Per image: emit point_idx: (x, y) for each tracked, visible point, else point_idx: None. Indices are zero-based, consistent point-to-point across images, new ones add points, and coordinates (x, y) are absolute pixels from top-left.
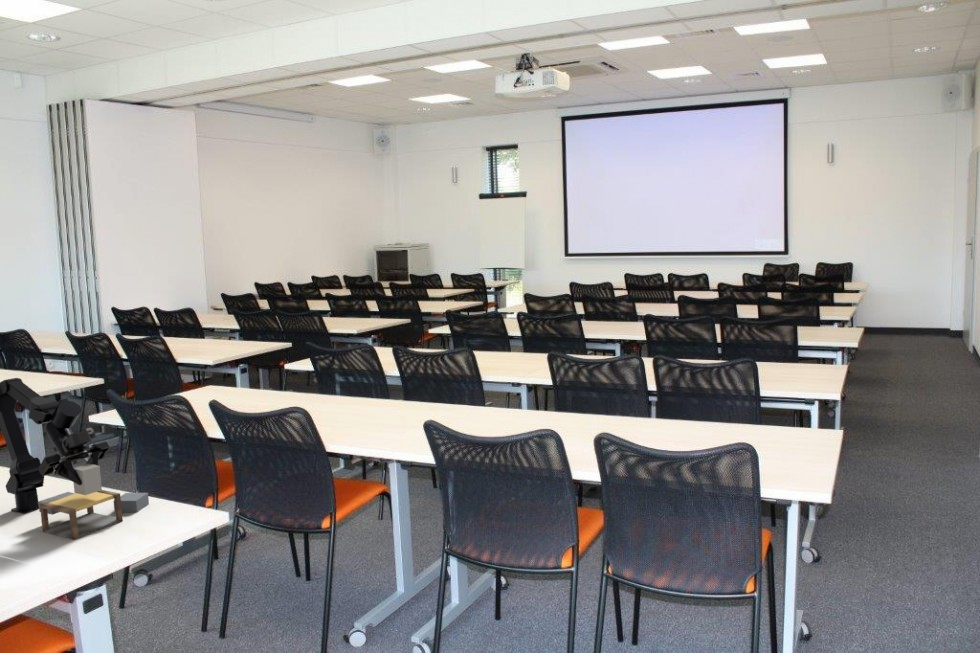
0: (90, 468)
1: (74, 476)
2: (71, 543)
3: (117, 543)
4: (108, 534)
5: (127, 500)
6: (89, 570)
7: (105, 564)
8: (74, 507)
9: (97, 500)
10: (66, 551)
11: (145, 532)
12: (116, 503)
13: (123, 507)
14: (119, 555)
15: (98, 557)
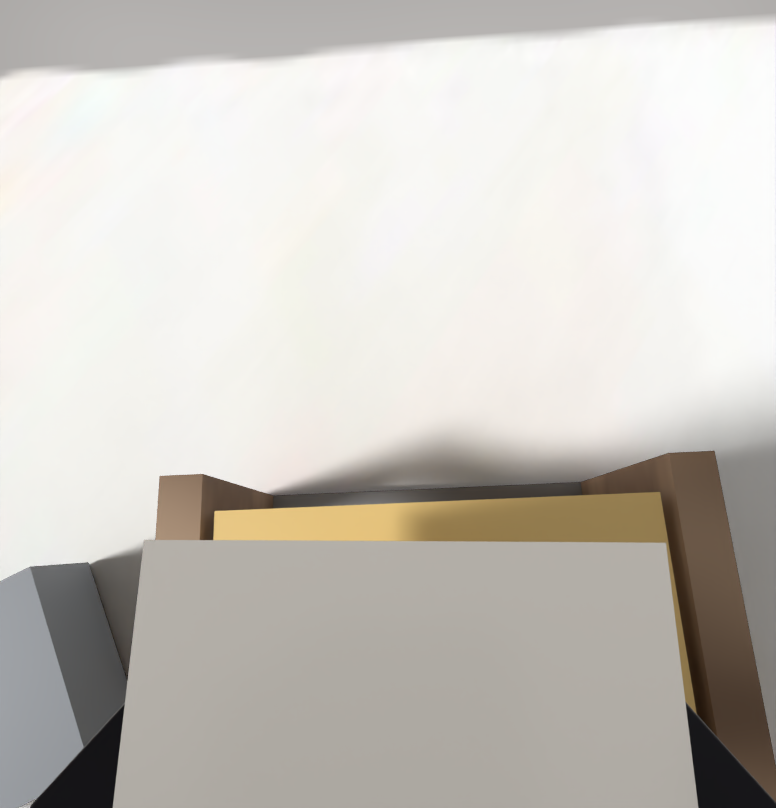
0: (419, 546)
1: (728, 759)
2: (640, 454)
3: (492, 217)
4: (434, 381)
5: (45, 647)
6: (760, 49)
7: (678, 47)
8: (639, 530)
9: (392, 510)
10: (720, 362)
11: (316, 222)
12: (233, 495)
13: (99, 666)
14: (580, 80)
15: (654, 142)
